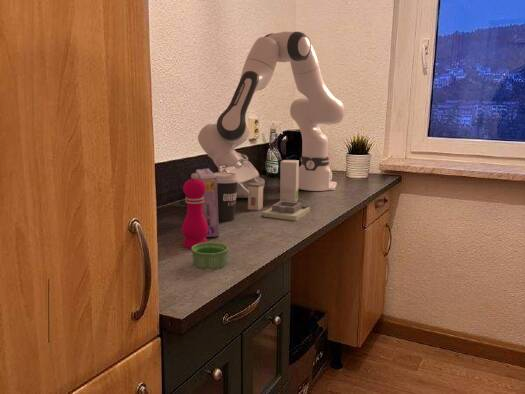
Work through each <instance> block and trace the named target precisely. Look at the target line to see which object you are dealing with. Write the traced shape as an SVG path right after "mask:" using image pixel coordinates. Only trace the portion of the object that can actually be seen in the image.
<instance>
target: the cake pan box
mask: <svg viewBox="0 0 525 394" xmlns="http://www.w3.org/2000/svg"><path fill="white" fill-rule="evenodd" d="M195 173H196V174H197V175H198V178H197V179H200V180H202V181H203V182H204V184H205V186H206V191H205V193H204V194H203V197H204V202H203V203H202V212H203V215H204V218H205V220H206V222H207V225H208V233H207V235H206V236H205V238H219V236H220V232H219V231H220V228H219V225H220V223H219V222H220V221H219V220H218V193H217V178H216V177H215V176H214V174H213V173H214V172H213V171H212V170H211V169H210V168H201V169H196V170H195Z"/></svg>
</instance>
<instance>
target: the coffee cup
mask: <svg viewBox="0 0 525 394" xmlns="http://www.w3.org/2000/svg"><path fill="white" fill-rule="evenodd" d="M213 174H214V176H215V177H216V178H217V193H218V220H219V222H231V221H234V220H235V217H236V216H235V214H236V204H237V203H236V202H237V197H236V194H237V184H238V182H239V178H238V177H237V174H236V173H230V172H219V171H218V172H213Z"/></svg>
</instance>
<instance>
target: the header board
mask: <svg viewBox="0 0 525 394" xmlns="http://www.w3.org/2000/svg"><path fill="white" fill-rule="evenodd" d="M309 212H311V207H309V205H308V204H303V203H302V202H297V201H296V202H289V201H280V200H279V201H277V202H276V203H274V204H272V205H271V207H270V208H268V209H266V210H264V211H263V212H262V217H265V218H272V219H278V220H280V219H281V220H287V221H288V220H289V221H295V222H296V221H298V220H300V219H301V218H303V217H304V216H305V215H307V214H309Z"/></svg>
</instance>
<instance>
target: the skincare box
mask: <svg viewBox="0 0 525 394" xmlns="http://www.w3.org/2000/svg"><path fill="white" fill-rule="evenodd" d="M299 161H300V160H297V159H283V160H281V161H280V164H279V165H280V166H279V167H280V168H279V169H280V170H279V171H280V172H279V173H280V176H279V177H280V179H279V180H280V181H279V182H280V183H279V186H280V187H279V189H280V190H279V191H280V192H279V201H289V202H297V201H298V199H299V188H298V182H299V167H300V164H299V163H300V162H299Z"/></svg>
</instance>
